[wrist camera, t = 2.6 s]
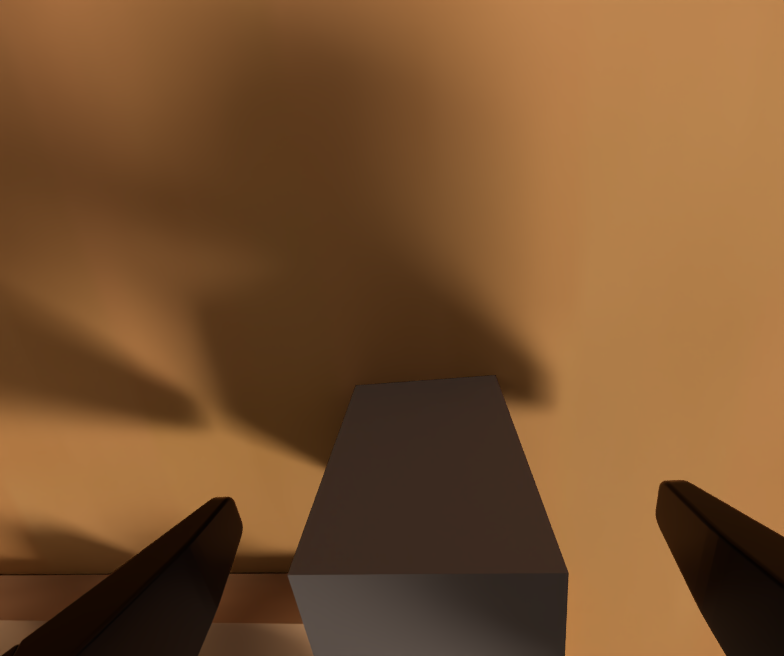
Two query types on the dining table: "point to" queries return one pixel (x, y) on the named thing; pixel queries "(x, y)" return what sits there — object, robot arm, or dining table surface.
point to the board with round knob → (226, 634)
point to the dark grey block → (430, 531)
